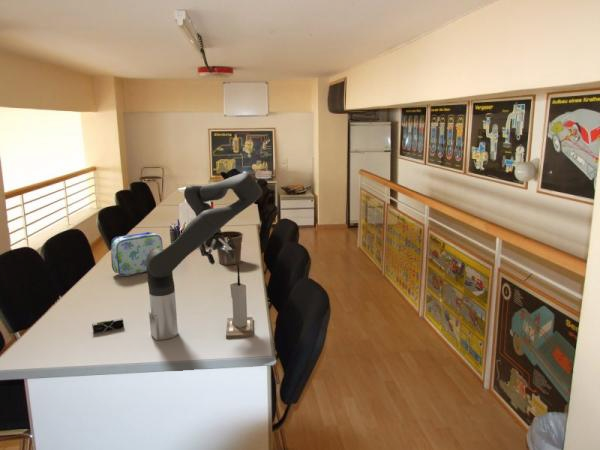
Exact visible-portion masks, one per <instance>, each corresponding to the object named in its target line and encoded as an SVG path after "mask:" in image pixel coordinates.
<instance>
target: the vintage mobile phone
mask: <svg viewBox="0 0 600 450" xmlns="http://www.w3.org/2000/svg"><path fill="white" fill-rule="evenodd" d="M236 266H237V282H234V283H231V284H230V285H229V286H230V296H231V297H230V298H231V299H232V301H231V302H232V318H233V320H232V325H234V326H236V327H238V328H242V327H245V326H247V317H248V309H247V308H248V306H247V305H248V302H247V285H246V284H244V283H241V280H240V279H241V277H240V276H241V275H240V264H239V263H238V264H236Z"/></svg>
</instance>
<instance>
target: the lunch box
mask: <svg viewBox="0 0 600 450" xmlns="http://www.w3.org/2000/svg"><path fill="white" fill-rule="evenodd" d="M110 244H111V245H110V246H111V248H110V249H111V250H110V251H111V252H110V253H111V254H110V255H111V256H110V257H111V258H110V259H111V267H112V271H113V273H115V274H118V275H120V276H121V277H129V276H132V275H137V274H141V273H147V269H146V258H147V255H148V254H149V253H150V252H151V251H152V250H154V249H157V248H161V249H164V247H163V239H162V236H160V235H159V234H157V233H154V232H149V231H145V232H141V233H135V234H126V235H125V234H124V235H119V236H115V237H114V238H112V239H111V243H110Z"/></svg>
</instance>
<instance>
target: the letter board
mask: <svg viewBox="0 0 600 450" xmlns="http://www.w3.org/2000/svg"><path fill="white" fill-rule="evenodd" d="M232 320H233V317H227V320H226V321H227V322H226V332H225V339H239V338H240V339H242V338H254V333H253V332H254V330H253V329H254V326H253V323H254V322H253V316H247V326H245V327H242V328H238V327H236V326H234V325H232Z"/></svg>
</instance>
